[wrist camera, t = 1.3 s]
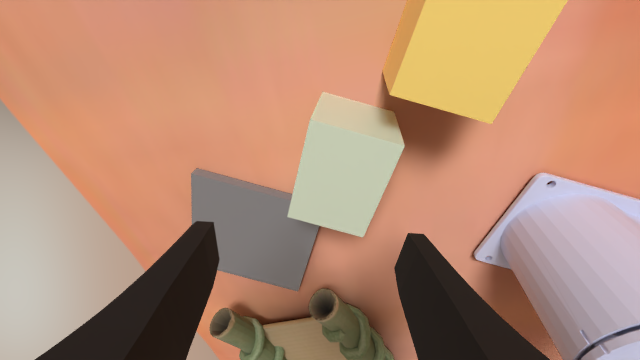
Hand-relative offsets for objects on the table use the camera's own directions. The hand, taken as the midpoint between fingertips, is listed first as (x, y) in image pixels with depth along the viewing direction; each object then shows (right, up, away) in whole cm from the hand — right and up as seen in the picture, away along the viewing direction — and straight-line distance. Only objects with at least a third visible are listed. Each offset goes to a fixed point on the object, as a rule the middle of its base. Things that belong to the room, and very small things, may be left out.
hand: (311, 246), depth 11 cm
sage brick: (+2, +5, +8) cm, 10 cm away
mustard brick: (+7, +11, +4) cm, 13 cm away
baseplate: (-5, -2, +13) cm, 14 cm away
